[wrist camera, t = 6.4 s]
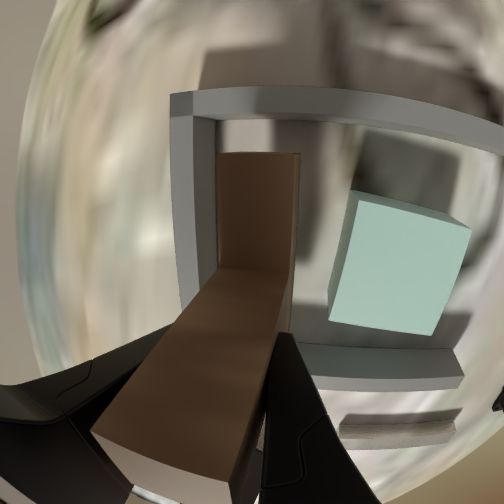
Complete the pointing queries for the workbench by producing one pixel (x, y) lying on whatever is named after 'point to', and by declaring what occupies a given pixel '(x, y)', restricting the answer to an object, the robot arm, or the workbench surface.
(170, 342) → the wooden l-shaped block
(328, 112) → the cubby
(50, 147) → the workbench surface
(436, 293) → the teal block
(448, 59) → the workbench surface
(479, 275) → the workbench surface
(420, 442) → the steel bar
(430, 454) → the workbench surface
